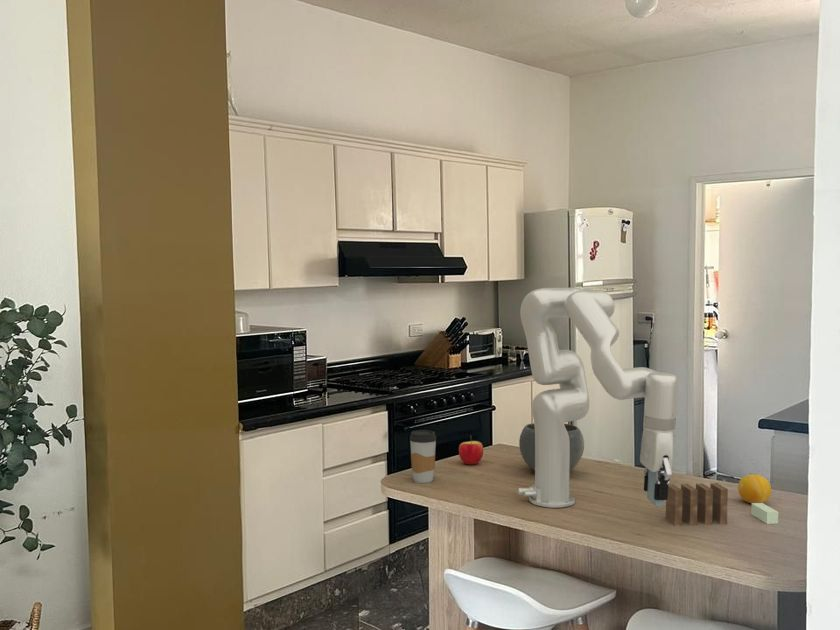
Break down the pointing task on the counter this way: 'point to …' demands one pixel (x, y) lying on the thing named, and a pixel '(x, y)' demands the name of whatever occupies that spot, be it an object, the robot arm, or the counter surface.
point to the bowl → (529, 445)
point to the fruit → (754, 488)
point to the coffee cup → (423, 455)
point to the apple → (471, 452)
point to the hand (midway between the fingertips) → (655, 494)
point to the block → (764, 513)
